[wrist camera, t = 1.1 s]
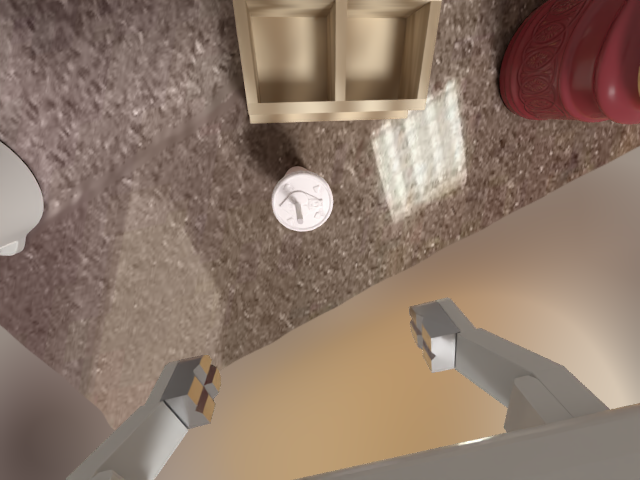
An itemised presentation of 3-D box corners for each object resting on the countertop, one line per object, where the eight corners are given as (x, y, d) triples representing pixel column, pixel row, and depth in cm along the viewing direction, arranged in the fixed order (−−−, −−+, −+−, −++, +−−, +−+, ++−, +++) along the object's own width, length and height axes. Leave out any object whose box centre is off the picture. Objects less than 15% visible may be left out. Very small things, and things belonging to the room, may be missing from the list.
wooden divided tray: (251, 123, 30) (245, 126, 25) (233, -8, 24) (220, -39, 19) (403, 117, 32) (427, 120, 27) (418, -3, 27) (451, -31, 21)
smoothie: (271, 156, 32) (264, 187, 20) (320, 154, 33) (343, 182, 21) (276, 203, 35) (274, 255, 23) (321, 200, 36) (342, 249, 24)
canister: (606, -30, 28) (1013, -202, 12) (589, 95, 34) (845, 85, 19) (493, 22, 29) (742, -76, 13) (497, 135, 35) (668, 157, 19)
